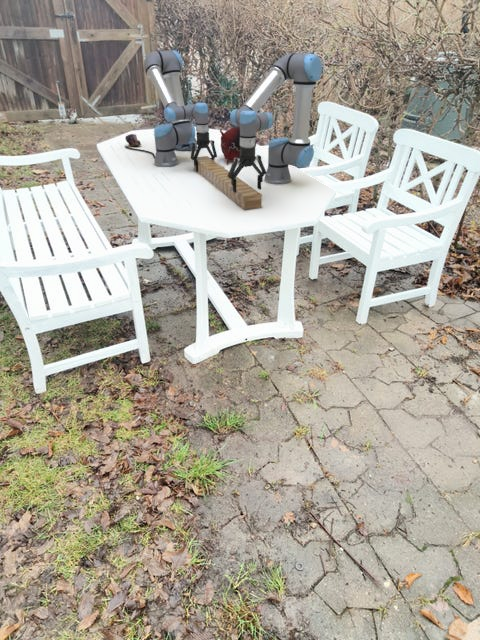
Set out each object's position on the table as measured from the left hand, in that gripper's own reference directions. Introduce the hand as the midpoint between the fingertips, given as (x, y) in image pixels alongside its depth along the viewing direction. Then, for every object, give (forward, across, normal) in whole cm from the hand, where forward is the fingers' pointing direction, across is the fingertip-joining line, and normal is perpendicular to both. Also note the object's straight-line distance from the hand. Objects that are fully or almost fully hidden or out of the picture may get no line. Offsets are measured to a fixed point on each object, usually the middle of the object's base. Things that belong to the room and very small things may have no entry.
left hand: (204, 169), depth 281 cm
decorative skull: (+1, +29, +15) cm, 33 cm away
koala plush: (+1, +6, +58) cm, 58 cm away
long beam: (+1, 0, -33) cm, 33 cm away
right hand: (-7, 0, -66) cm, 66 cm away
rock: (+1, -27, +82) cm, 86 cm away
